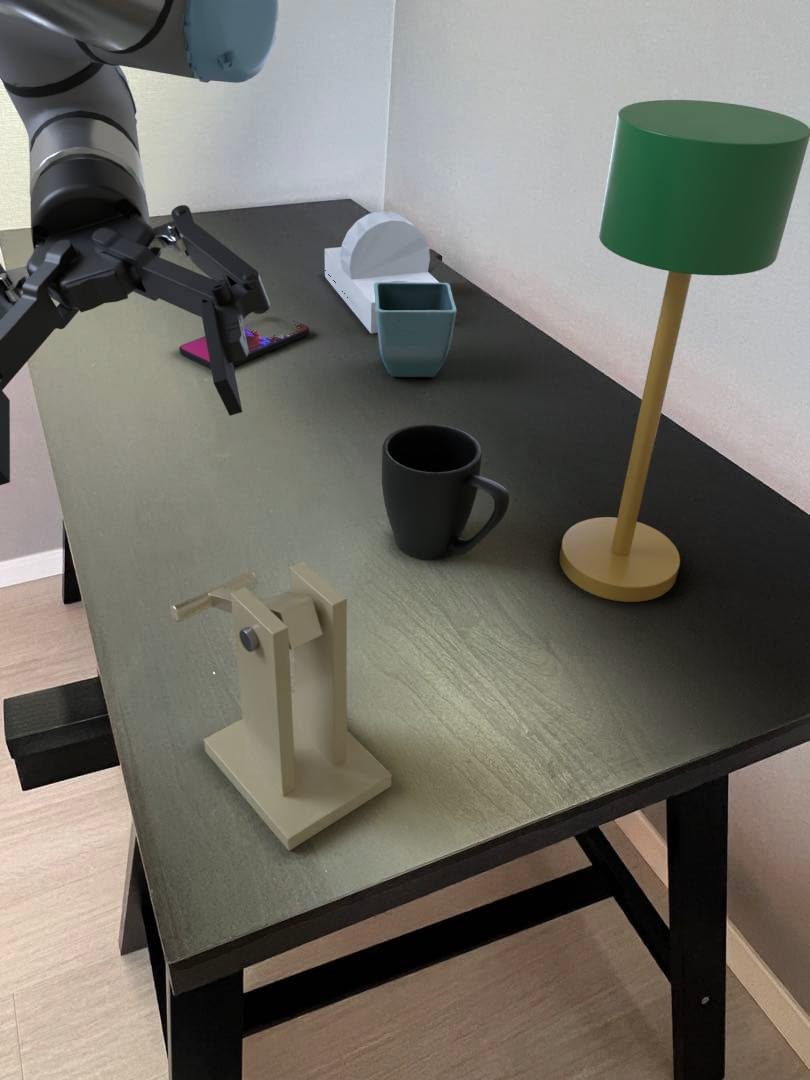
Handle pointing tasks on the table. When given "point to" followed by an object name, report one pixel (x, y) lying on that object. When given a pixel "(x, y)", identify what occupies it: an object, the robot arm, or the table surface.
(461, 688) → the table surface
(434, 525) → the mug
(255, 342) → the smartphone
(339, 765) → the beige wooden upright stand
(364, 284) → the tape dispenser
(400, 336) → the flower pot
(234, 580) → the switch
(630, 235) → the lamp
